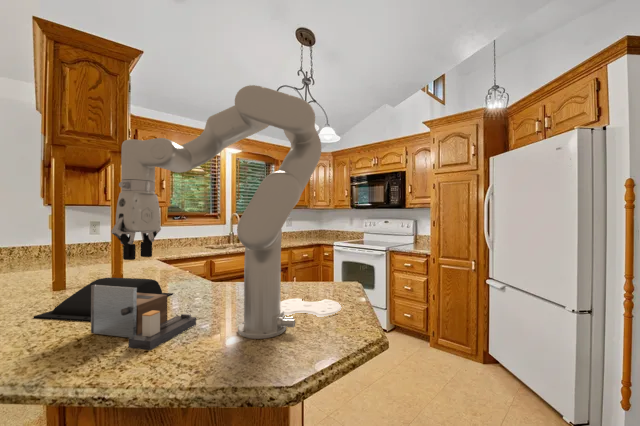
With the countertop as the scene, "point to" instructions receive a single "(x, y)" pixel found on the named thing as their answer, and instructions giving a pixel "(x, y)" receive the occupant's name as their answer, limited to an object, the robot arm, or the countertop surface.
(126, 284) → the black piece
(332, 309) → the white bone shape
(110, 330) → the door
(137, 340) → the fader strip
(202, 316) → the countertop surface
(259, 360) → the countertop surface
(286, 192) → the robot arm
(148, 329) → the fader knob
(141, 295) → the wooden block
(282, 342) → the countertop surface
